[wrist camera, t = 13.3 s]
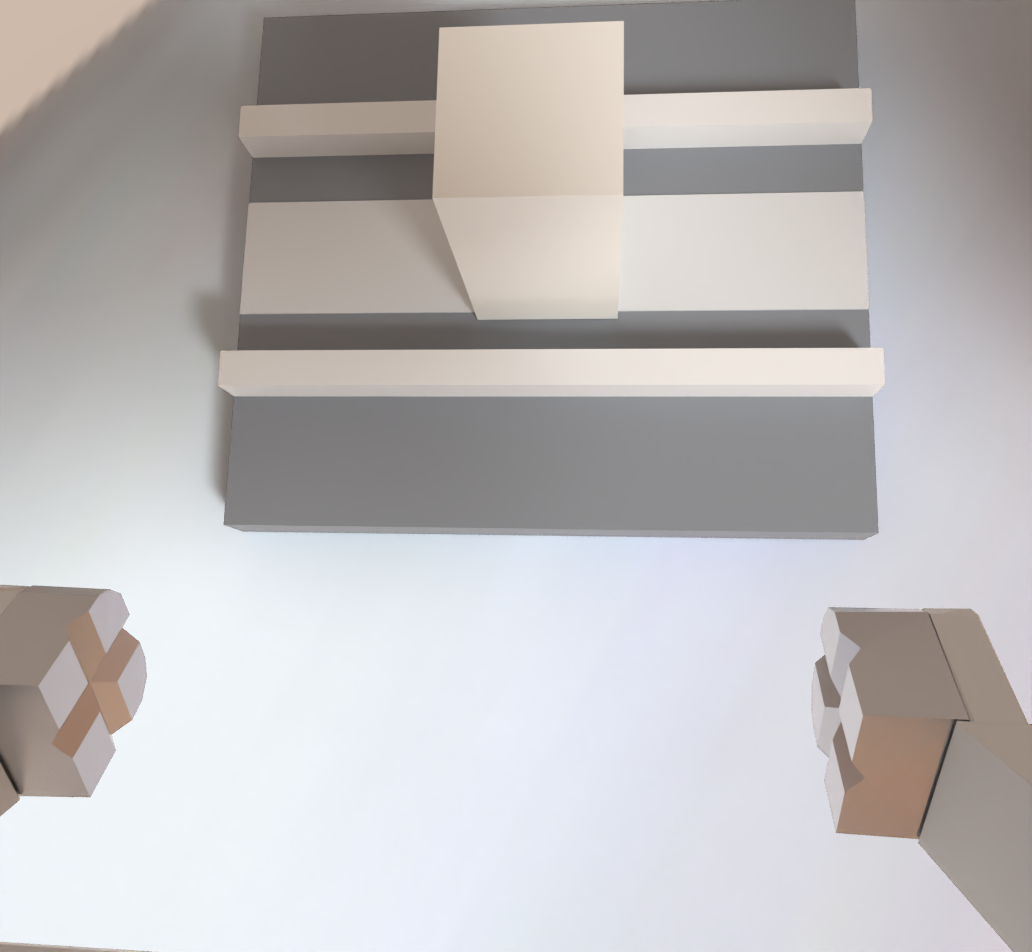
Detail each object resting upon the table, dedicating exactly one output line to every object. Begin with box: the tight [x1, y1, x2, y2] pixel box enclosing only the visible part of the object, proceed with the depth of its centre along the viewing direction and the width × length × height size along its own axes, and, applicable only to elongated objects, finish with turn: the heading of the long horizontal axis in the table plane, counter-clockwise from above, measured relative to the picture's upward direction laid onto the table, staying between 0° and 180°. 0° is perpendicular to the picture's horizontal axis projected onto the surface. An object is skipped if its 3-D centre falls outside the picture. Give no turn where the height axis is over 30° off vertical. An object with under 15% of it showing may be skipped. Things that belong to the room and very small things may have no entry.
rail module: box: [432, 21, 624, 320], centre depth 24 cm, size 4×5×8 cm
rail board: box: [218, 0, 885, 540], centre depth 28 cm, size 18×16×3 cm
